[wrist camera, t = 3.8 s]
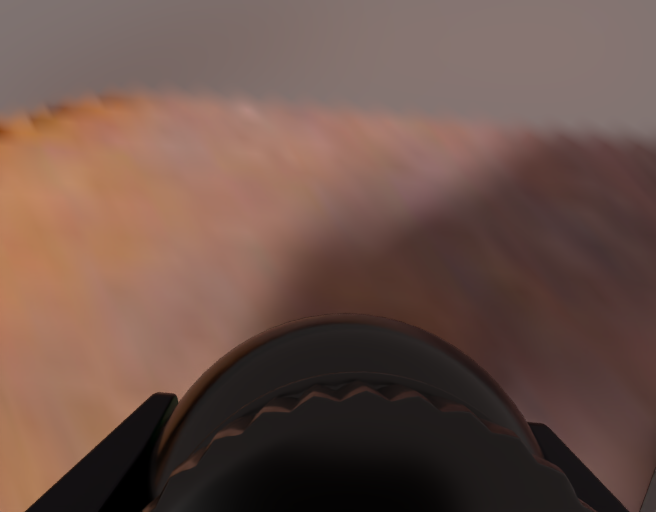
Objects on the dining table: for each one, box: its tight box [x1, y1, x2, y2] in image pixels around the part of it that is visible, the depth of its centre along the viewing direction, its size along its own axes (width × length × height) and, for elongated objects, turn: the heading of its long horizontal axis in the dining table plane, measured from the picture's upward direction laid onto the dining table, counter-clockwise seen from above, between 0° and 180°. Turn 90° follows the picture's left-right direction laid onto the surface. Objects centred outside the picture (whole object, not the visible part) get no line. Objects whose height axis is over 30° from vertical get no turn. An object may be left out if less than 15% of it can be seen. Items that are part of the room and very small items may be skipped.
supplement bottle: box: [133, 313, 597, 512], centre depth 9 cm, size 7×7×12 cm
